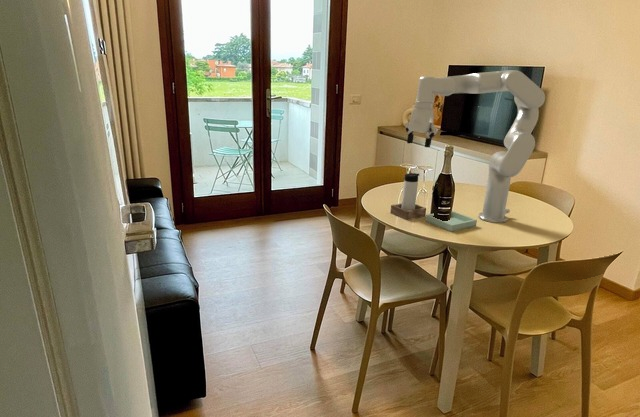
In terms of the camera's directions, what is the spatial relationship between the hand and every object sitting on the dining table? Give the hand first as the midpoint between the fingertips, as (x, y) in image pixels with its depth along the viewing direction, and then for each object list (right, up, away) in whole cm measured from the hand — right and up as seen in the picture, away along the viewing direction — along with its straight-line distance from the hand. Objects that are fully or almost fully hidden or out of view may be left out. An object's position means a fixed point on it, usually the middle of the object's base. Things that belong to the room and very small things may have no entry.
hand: (418, 145), depth 189 cm
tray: (+14, -35, 0) cm, 38 cm away
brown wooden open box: (-3, -31, +10) cm, 33 cm away
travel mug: (-3, -32, +10) cm, 33 cm away
